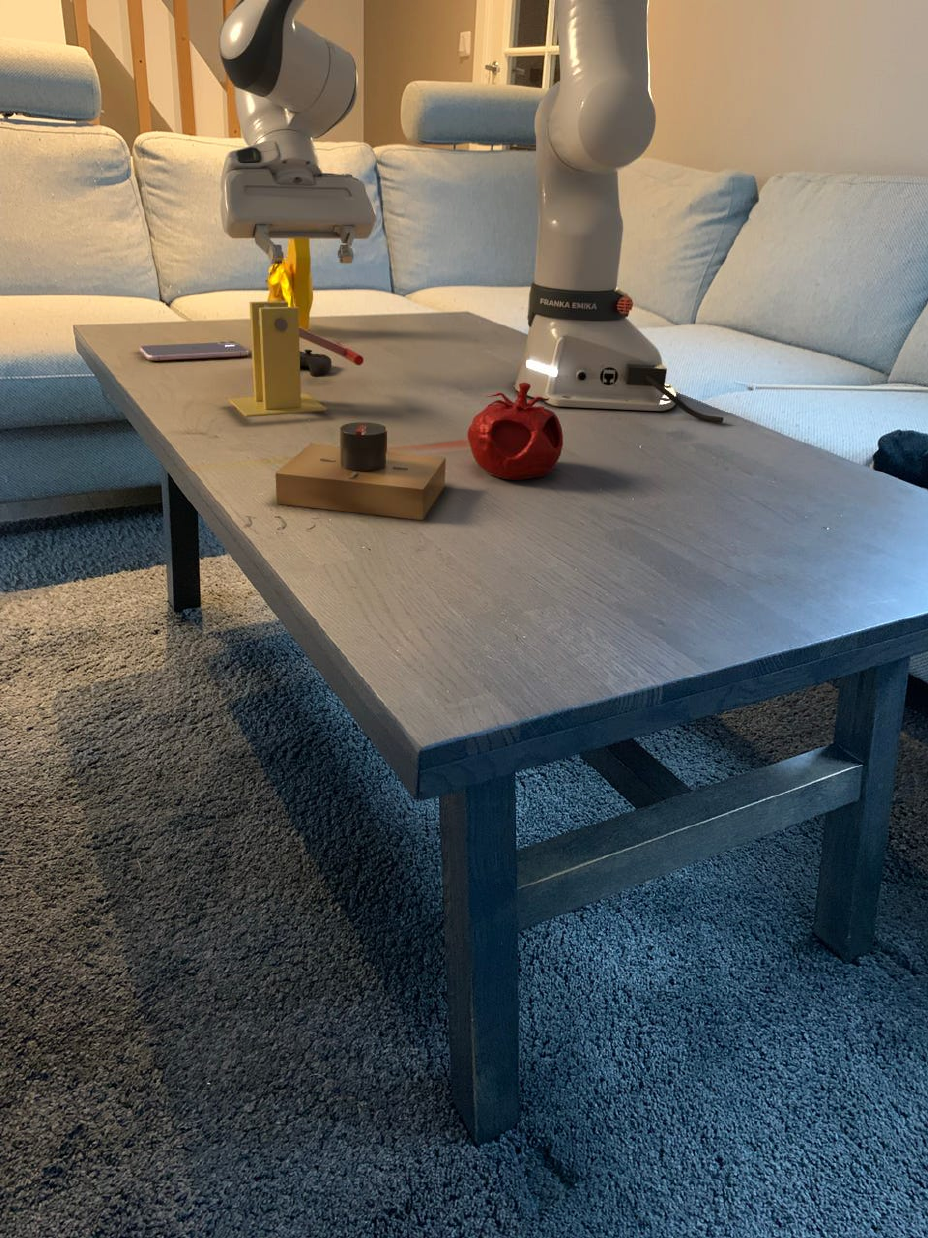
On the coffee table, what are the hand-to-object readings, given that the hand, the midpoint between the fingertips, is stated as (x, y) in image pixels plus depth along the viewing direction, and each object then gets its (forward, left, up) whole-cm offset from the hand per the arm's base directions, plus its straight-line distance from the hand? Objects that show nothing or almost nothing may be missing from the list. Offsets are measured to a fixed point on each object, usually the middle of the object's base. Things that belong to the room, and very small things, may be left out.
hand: (313, 260), depth 124 cm
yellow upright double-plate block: (0, +15, -16) cm, 22 cm away
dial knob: (-18, +40, -13) cm, 46 cm away
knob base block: (-18, +40, -16) cm, 47 cm away
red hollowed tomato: (-31, +28, -16) cm, 45 cm away
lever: (-3, +13, -8) cm, 16 cm away
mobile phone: (+23, -11, -16) cm, 30 cm away
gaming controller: (+4, -5, -16) cm, 17 cm away
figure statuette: (+16, -34, -16) cm, 41 cm away
